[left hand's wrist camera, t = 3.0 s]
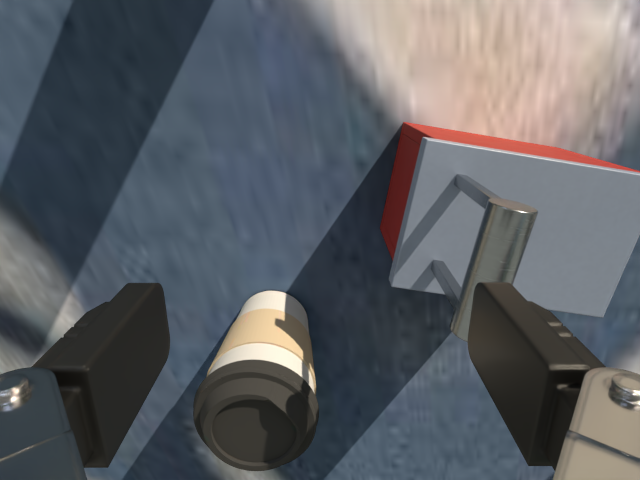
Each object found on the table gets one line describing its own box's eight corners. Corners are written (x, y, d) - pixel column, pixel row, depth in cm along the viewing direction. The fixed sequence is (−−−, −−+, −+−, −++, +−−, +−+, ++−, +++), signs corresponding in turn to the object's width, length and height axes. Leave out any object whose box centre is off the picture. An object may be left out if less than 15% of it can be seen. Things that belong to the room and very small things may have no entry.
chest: (379, 228, 40) (400, 280, 30) (403, 121, 37) (435, 138, 26) (523, 250, 41) (591, 308, 30) (558, 147, 37) (649, 174, 27)
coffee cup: (267, 374, 45) (243, 507, 31) (209, 313, 43) (154, 428, 29) (337, 329, 43) (345, 449, 29) (281, 263, 41) (260, 359, 27)
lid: (388, 279, 30) (417, 364, 21) (422, 136, 26) (474, 165, 17) (592, 309, 30) (704, 404, 21) (650, 174, 27) (811, 220, 18)
